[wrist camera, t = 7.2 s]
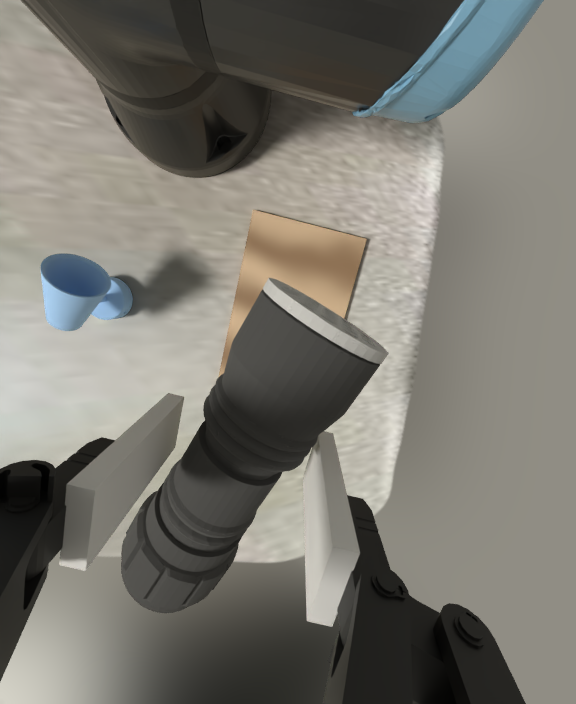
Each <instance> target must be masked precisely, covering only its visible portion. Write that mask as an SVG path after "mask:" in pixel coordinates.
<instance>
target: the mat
mask: <svg viewBox="0 0 576 704" xmlns="http://www.w3.org/2000/svg"><path fill="white" fill-rule="evenodd" d="M366 240H367V239H365V238H361V237H357V236H353V235H349V234H345V233H342V232H338V231H334V230H330V229H326V228H322V227H318V226H314V225H311V224H307V223H303V222H299V221H295V220H291V219H287V218H283V217H280V216H276V215H272V214H268V213H264V212H260V211H256V210H253V213H252V218H251V223H250V227H249V232H248V237H247V242H246V247H245V252H244V256H243V261H242V266H241V271H240V276H239V281H238V285H237V290H236V295H235V300H234V305H233V310H232V314H231V319H230V324H229V329H228V334H227V339H226V343H225V348H224V353H223V358H222V363H221V368H220V372H219V377H220V376H221V375H222V374H223V373H224V371H225V367H226V363H227V360H228V356H229V352H230V348H231V345H232V342H233V340H234V338H235V336H236V334H237V333H238V331H239V329H240V327H241V326H242V324H243V322H244V320H245V319H246V317H247V315H248V313H249V312H250V310H251V308H252V306H253V305H254V303H255V301H256V299H257V298H258V296H259V294H260V292H261V291H262V290H263V287H264V285H265V283H266V282H267V280H268V278H273V279H276V280H279V281H281V282H283V283H285V284H287V285H289V286H291V287H293V288H295V289H296V290H298V291H300V292H302V293H304V294H305V295H307V296H309V297H310V298H312V299H314V300H315V301H317V302H319V303H320V304H322V305H323V306H325V307H327V308H328V309H330V310H331V311H333V312H334V313H336V314H338V315H339V316H341V317H342V318H345V314H346V311H347V307H348V303H349V300H350V296H351V293H352V289H353V286H354V282H355V279H356V275H357V272H358V268H359V265H360V261H361V258H362V254H363V251H364V247H365V244H366ZM219 377H218V378H219Z"/></svg>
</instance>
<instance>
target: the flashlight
mask: <svg viewBox="0 0 576 704" xmlns="http://www.w3.org/2000/svg"><path fill="white" fill-rule="evenodd" d="M387 355H388V352H387V351H386V350H385V349H384V348H383V347H382V346H381V345H380V344H379V343H378V342H376V341H375V340H374V339H372V338H371V337H370V336H368V335H367V334H366V333H364V332H363V331H361V330H360V329H359V328H357V327H356V326H354V325H353V324H351V323H350V322H348V321H347V320H345V319H344V318H342V317H341V316H339V315H338V314H336V313H334V312H333V311H331V310H330V309H328V308H327V307H325V306H323V305H322V304H320V303H319V302H317V301H315V300H314V299H312V298H310V297H309V296H307V295H305V294H304V293H302V292H300V291H298V290H296V289H295V288H293V287H291V286H289V285H287V284H285V283H283V282H281V281H279V280H276V279H273V278H268V280H267V282H266V283H265V285H264V287H263V290H262V291H261V292H260V294H259V296H258V298H257V299H256V301H255V303H254V305H253V306H252V308H251V310H250V312H249V313H248V315H247V317H246V319H245V320H244V322H243V324H242V326H241V327H240V329H239V331H238V333H237V334H236V336H235V338H234V340H233V342H232V345H231V348H230V352H229V356H228V360H227V363H226V367H225V371H224V373H223V374H222V375H221V376H220V377H219V378H218V379H217V381H216V385H215V386H214V387H213V388H212V389H211V392H210V395H209V396H208V397H207V398H206V400H205V402H204V410H203V411H204V417H205V421H204V422H203V423H202V425H201V426H200V428H199V430H198V431H197V433H196V435H195V436H194V438H193V440H192V441H191V443H190V445H189V447H188V448H187V450H186V452H185V453H184V455H183V457H182V458H181V459H180V460H179V461H178V462H177V463H176V464H175V465H174V466H173V468H172V469H171V471H170V473H169V475H168V476H167V478H166V479H165V481H164V483H163V484H162V485H161V487H160V488H159V490H158V491H156V492H154V493H153V494H151V495H150V496H149V497H148V498H147V499H146V501H145V502H144V503H143V505H142V506H141V508H140V509H139V511H138V513H137V515H136V516H135V518H134V520H133V522H132V523H131V525H130V527H129V529H128V530H127V532H126V537H125V539H124V541H123V545H122V553H121V555H122V562H121V573H122V577H123V581H124V584H125V586H126V588H127V590H128V592H129V594H130V595H131V596H132V597H133V598H134V600H135V601H136V602H138V603H139V604H140V605H141V606H143V607H145V608H147V609H149V610H152V611H155V612H160V613H173V612H176V611H180V610H182V609H185V608H187V607H188V606H191V605H193V604H195V603H198V602H199V601H201V600H202V599H204V598H205V597H206V596H207V595H208V594H209V593H210V591H211V590H213V589H214V588H215V586H216V585H217V584H218V582H219V581H220V579H221V578H222V577H223V575H224V574H225V573H226V571H227V570H228V568H229V567H230V566H231V564H232V562H233V560H234V558H235V556H236V553H237V549H238V543H239V541H240V539H241V537H242V536H243V534H244V533H245V532H246V530H247V528H248V527H249V526H250V525H251V523H252V522H253V519H254V517H255V515H256V511H257V509H258V507H259V506H260V505H261V503H262V502H263V500H264V499H265V498H266V496H267V495H268V493H269V492H270V491H271V489H272V488H273V486H274V485H275V483H276V482H277V481H278V479H279V478H280V476H281V474H282V472H284V471H290V470H292V469H295V468H296V467H298V466H299V465H300V464H301V463H302V462H303V460H304V457H305V456H307V455H308V453H309V452H310V449H311V447H313V446H314V445H315V444H316V442H317V439H318V435H319V434H321V433H322V432H323V431H324V430H326V429H327V428H328V427H329V426H331V425H332V424H333V423H334V422H335V421H337V420H338V419H339V418H340V417H342V416H343V415H344V414H345V412H346V411H347V410H348V408H349V407H350V406H351V404H352V403H353V402H354V400H355V399H356V397H357V396H358V395H359V393H360V392H361V391H362V389H363V388H364V386H365V385H366V384H367V382H368V381H369V380H370V378H371V377H372V375H373V374H374V373H375V371H376V370H377V369H378V367H379V366H380V364H381V363H382V362H383V361H384V359H385V358H386V356H387Z"/></svg>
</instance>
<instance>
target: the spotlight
mask: <svg viewBox="0 0 576 704" xmlns="http://www.w3.org/2000/svg"><path fill="white" fill-rule="evenodd" d="M41 276H42V286H43V295H44V304H45V313H46V320H47V321H48V323H49V324H50V325H51V326H53V327H54V328H57V329H59V330H63V331H73V330H77V329H79V328H80V327H81V326H82V325H83V324H84V322H85V321H86V320H87V318H88V317H89V316H90V314H92V315H93V316H95V317H97V318H99V319H103V320H109V319H116V318H120V317H123V316H125V315H126V314H127V313H128V312H129V311H130V309H131V307H132V303H133V297H132V293H131V290H130V289H129V287H128V286H127V285H126V284H125V283H124V282H123V281H122V280H120V279H118V278H114V277H109V275H108V274H107V272H106V271H105V270H104V269H103V268H102V267H101V266H99V265H98V264H96V263H95V262H93V261H91V260H89V259H87V258H84V257H81V256H78V255H73V254H55V255H51V256H49V257H47V258H46V259H44V260H43V262H42V264H41Z"/></svg>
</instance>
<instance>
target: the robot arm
mask: <svg viewBox="0 0 576 704" xmlns="http://www.w3.org/2000/svg"><path fill="white" fill-rule="evenodd" d="M21 1H22V2H23V3H24V4H25V5H26V6H27V7H28V8H29V9H30V11H31V12H32V13H33V14H34V15H35V16H36V17H37V18H38V19H39V20H40V21H41V22H42V23H43V24H44V25H45V26H46V27H47V28H48V29H49V30H50V31H51V32H52V33H53V34H54V35H55V37H56V38H57V39H58V40H59V41H60V42H61V43H62V44H63V45H64V46H65V47H66V48H67V49H68V50H69V51H70V52H71V53H72V54H73V55H74V56H75V57H76V58H77V59H78V60H79V61H80V63H81V64H82V65H83V66H84V67H85V68H86V69H87V70H88V71H89V72H90V73H91V74H92V75H93V76H94V77H95V78H96V81H97V83H98V85H99V87H100V89H101V91H102V93H103V94H104V96H105V100H106V102H107V105H108V107H109V109H110V112H111V114H112V116H113V118H114V120H115V122H116V123H117V125H118V127H119V128H120V130H121V131H122V132H123V134H124V135H125V136H126V138H127V139H128V140H129V141H130V142H131V143H132V144H133V145H134V147H136V148H137V149H138V150H139V151H140V152H141V153H142V154H143V155H144V156H146V157H147V158H148V159H149V160H150V161H152V162H153V163H154V164H156V165H157V166H159V167H161V168H162V169H164V170H166V171H169V172H171V173H174V174H177V175H181V176H186V177H207V176H212V175H216V174H219V173H222V172H224V171H226V170H228V169H230V168H232V167H233V166H235V165H236V164H238V163H239V162H240V161H241V160H242V159H244V158H245V157H246V156H247V155H248V153H249V152H250V151H251V150H252V149H253V147H254V146H255V144H256V143H257V141H258V140H259V138H260V136H261V134H262V132H263V130H264V127H265V124H266V121H267V118H268V114H269V109H270V102H271V89H272V90H275V91H279V92H282V93H286V94H290V95H293V96H297V97H301V98H304V99H308V100H312V101H315V102H319V103H323V104H326V105H330V106H334V107H337V108H341V109H345V110H348V111H352V113H353V115H354V116H357V117H360V118H364V117H369V116H371V115H373V116H378V117H383V118H388V119H393V120H398V121H403V122H408V123H422V122H426V121H429V120H431V119H433V118H435V117H437V116H439V115H441V114H442V113H444V112H445V111H446V110H448V109H450V108H452V107H453V106H455V105H456V104H457V103H458V102H460V101H461V100H462V99H463V98H464V97H465V96H466V95H467V94H468V93H469V92H470V91H471V90H472V89H474V88H475V87H476V86H477V84H478V83H479V82H480V81H481V80H482V79H483V78H484V77H485V76H486V75H487V74H488V72H489V71H490V70H491V69H492V68H493V67H494V66H495V64H496V63H497V62H498V61H499V59H500V58H501V57H502V56H503V55H504V53H505V52H506V51H507V50H508V48H509V47H510V46H511V44H512V43H513V41H514V40H515V39H516V38H517V37H518V35H519V34H520V33H521V31H522V30H523V29H524V27H525V26H526V24H527V23H528V22H529V20H530V19H531V18H532V16H533V15H534V13H535V12H536V11H537V9H538V8H539V6H540V5H541V3H542V2H543V1H544V0H21ZM183 401H184V397H182V396H178V395H174V394H170V393H168V394H167V395H166V396H165V397H164V398H162V399H161V400H160V401H159V402H158V403H157V404H156V405H155V406H154V407H152V408H151V409H150V410H149V411H148V412H147V413H146V414H145V415H143V416H142V417H141V418H140V419H139V420H138V421H137V422H136V423H134V424H133V425H132V426H131V427H130V428H129V429H128V430H127V431H126V432H124V433H123V434H122V435H121V436H120V437H119V438H118V439H117V440H111V439H107V438H99V439H97V440H94V441H92V442H89V443H87V444H86V445H85V446H83V447H82V448H81V449H79V450H78V451H77V452H76V454H75V453H74V454H73V455H72V456H71V457H69V458H68V460H67V461H64V462H63V463H62V464H60V465H59V466H58V467H57V468H54V466H53V465H52V464H50V463H48V462H46V461H39V460H29V461H21V462H17V463H13V464H10V465H8V466H6V467H3V468H1V469H0V681H1V679H2V677H3V674H4V672H5V669H6V667H7V665H8V663H9V661H10V658H11V656H12V654H13V652H14V649H15V647H16V645H17V643H18V640H19V638H20V636H21V633H22V631H23V629H24V627H25V625H26V622H27V620H28V618H29V616H30V613H31V611H32V609H33V606H34V604H35V602H36V600H37V597H38V595H39V593H40V591H41V588H42V586H43V583H44V582H45V579H46V577H47V572H48V564H49V562H50V561H51V560H52V559H53V558H54V557H55V555H56V554H57V553H58V552H59V551H60V550H61V552H60V563H59V565H62V566H66V567H71V568H76V569H80V570H84V571H86V570H87V568H88V567H89V566H90V564H91V563H92V562H93V560H94V559H95V557H96V556H97V555H98V553H99V552H100V550H101V549H102V548H103V546H104V545H105V544H106V542H107V541H108V539H109V538H110V537H111V535H112V534H113V532H114V531H115V530H116V528H117V527H118V526H119V524H120V523H121V521H122V520H123V519H124V517H125V516H126V514H127V513H128V512H129V510H130V509H131V508H132V506H133V505H134V503H135V502H136V501H137V499H138V498H139V496H140V495H141V494H142V492H143V491H144V490H145V488H146V487H147V485H148V484H149V483H150V481H151V480H152V478H153V477H154V476H155V474H156V473H157V472H158V470H159V469H160V467H161V466H162V465H163V463H164V462H165V460H166V459H167V458H168V456H169V455H170V454H171V452H172V451H173V449H174V448H175V445H176V439H177V434H178V428H179V423H180V417H181V412H182V406H183ZM303 496H304V532H305V569H306V602H307V603H306V606H307V621H309V622H313V623H318V624H322V625H327V626H331V627H332V626H333V623H334V620H335V618H336V615H337V612H338V620H339V627H340V630H339V633H338V635H337V638H336V641H335V643H334V646H333V649H332V651H331V654H330V656H329V658H328V662H329V663H331V665H330V670H329V675H328V680H327V685H326V690H325V695H324V700H323V704H526V703H525V701H524V699H523V697H522V695H521V693H520V691H519V689H518V687H517V685H516V682H515V680H514V678H513V676H512V674H511V672H510V670H509V668H508V666H507V664H506V662H505V660H504V658H503V656H502V653H501V651H500V649H499V647H498V645H497V643H496V641H495V639H494V637H493V636H492V634H491V632H490V631H489V629H488V628H487V627H486V626H485V624H484V623H483V622H482V621H481V620H480V619H479V618H478V617H477V616H476V615H474V614H473V613H472V612H470V611H469V610H468V609H466V608H464V607H462V606H460V605H457V604H447V605H445V606H443V608H442V610H441V612H440V613H439V612H437V611H435V610H433V609H431V608H430V607H428V606H426V605H424V604H422V603H420V602H419V601H417V600H415V599H414V598H412V597H411V596H410V595H409V594H408V590H407V588H406V586H405V584H404V583H403V581H402V580H401V579H400V578H399V577H398V576H397V575H396V574H395V573H394V572H393V571H391V570H390V567H389V564H388V561H387V557H386V554H385V551H384V548H383V545H382V542H381V538H380V536H379V534H378V529H377V526H376V524H375V520H374V516H373V513H372V510H371V509H370V508H369V506H368V505H367V504H366V502H365V501H364V499H361V498H357V497H352V496H348V495H347V493H346V489H345V484H344V480H343V475H342V471H341V467H340V462H339V458H338V453H337V449H336V445H335V440H334V436H333V433H329V432H325V431H323V432H322V433H321V434H319V435H318V439H317V442H316V444H315V445H314V446H313V447H312V450H311V453H310V457H309V460H308V463H307V467H306V470H305V473H304V477H303Z"/></svg>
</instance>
